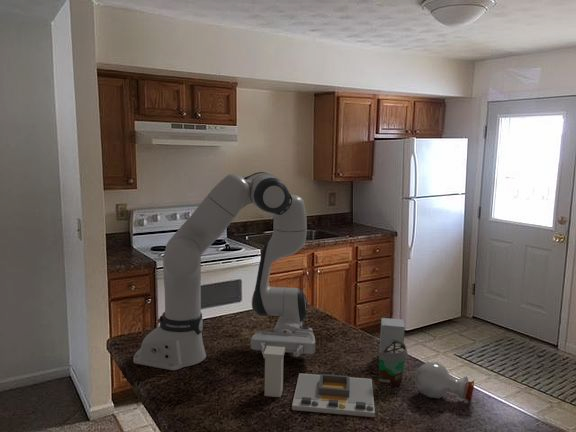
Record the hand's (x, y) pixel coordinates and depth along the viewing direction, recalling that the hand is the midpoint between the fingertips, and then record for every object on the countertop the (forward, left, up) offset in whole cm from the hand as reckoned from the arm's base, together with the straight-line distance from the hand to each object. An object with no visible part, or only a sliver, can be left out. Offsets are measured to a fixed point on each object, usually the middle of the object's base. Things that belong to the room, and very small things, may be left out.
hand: (279, 353), depth 139 cm
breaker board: (+16, -10, -7) cm, 20 cm away
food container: (+34, +2, -7) cm, 35 cm away
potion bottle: (+46, -6, -7) cm, 47 cm away
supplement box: (+34, +16, -7) cm, 38 cm away
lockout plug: (0, -11, -7) cm, 13 cm away
